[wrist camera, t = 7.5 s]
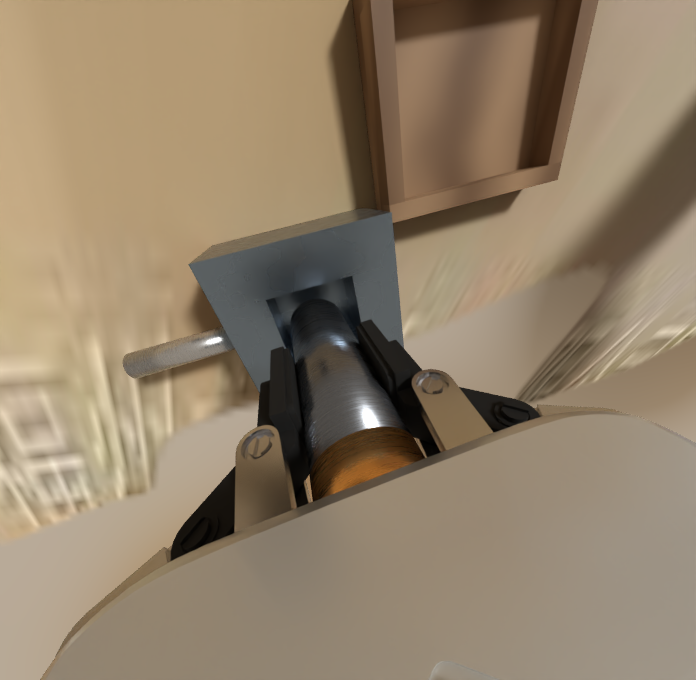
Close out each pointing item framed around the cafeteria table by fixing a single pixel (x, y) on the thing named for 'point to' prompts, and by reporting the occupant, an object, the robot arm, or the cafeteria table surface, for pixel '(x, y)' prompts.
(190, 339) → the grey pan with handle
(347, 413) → the orange grey cylinder
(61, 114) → the cafeteria table surface
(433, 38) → the tray
